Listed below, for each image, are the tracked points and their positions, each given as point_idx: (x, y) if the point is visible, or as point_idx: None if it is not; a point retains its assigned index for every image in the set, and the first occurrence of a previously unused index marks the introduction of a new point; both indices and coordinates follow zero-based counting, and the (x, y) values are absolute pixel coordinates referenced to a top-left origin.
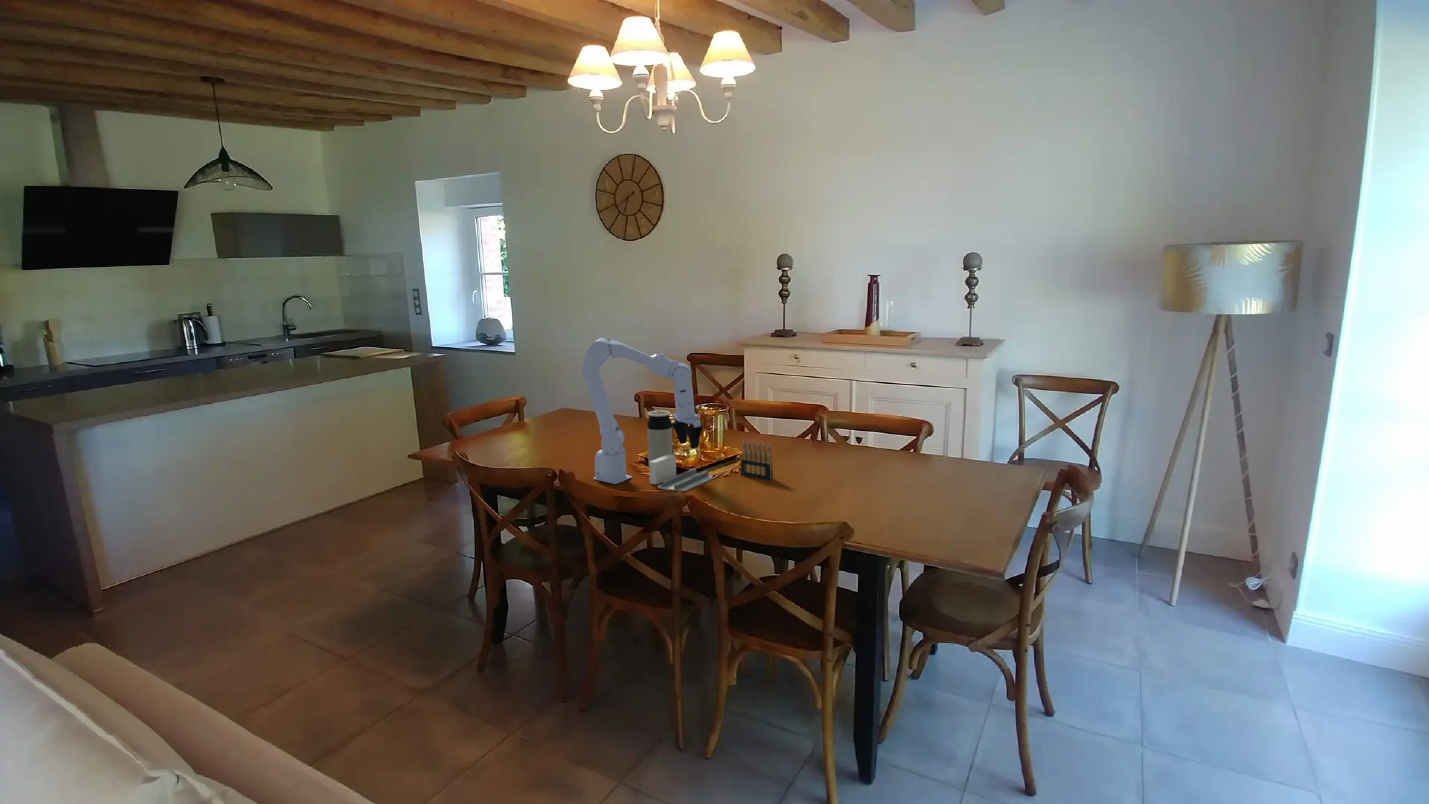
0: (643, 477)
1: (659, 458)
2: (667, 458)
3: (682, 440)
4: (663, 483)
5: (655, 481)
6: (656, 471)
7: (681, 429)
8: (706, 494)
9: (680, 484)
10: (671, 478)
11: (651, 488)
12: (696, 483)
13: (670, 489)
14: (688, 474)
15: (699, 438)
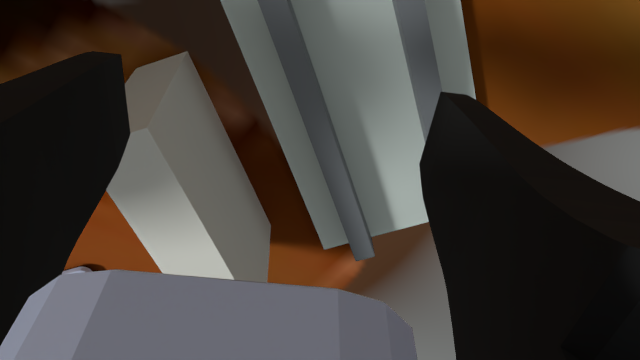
0: (105, 217)
1: (175, 269)
2: (202, 222)
3: (110, 130)
4: (368, 252)
5: (268, 238)
6: (263, 273)
7: (20, 239)
8: (626, 105)
9: None
10: (341, 194)
11: (311, 265)
12: (460, 62)
13: (414, 222)
14: (296, 23)
15: (540, 148)
